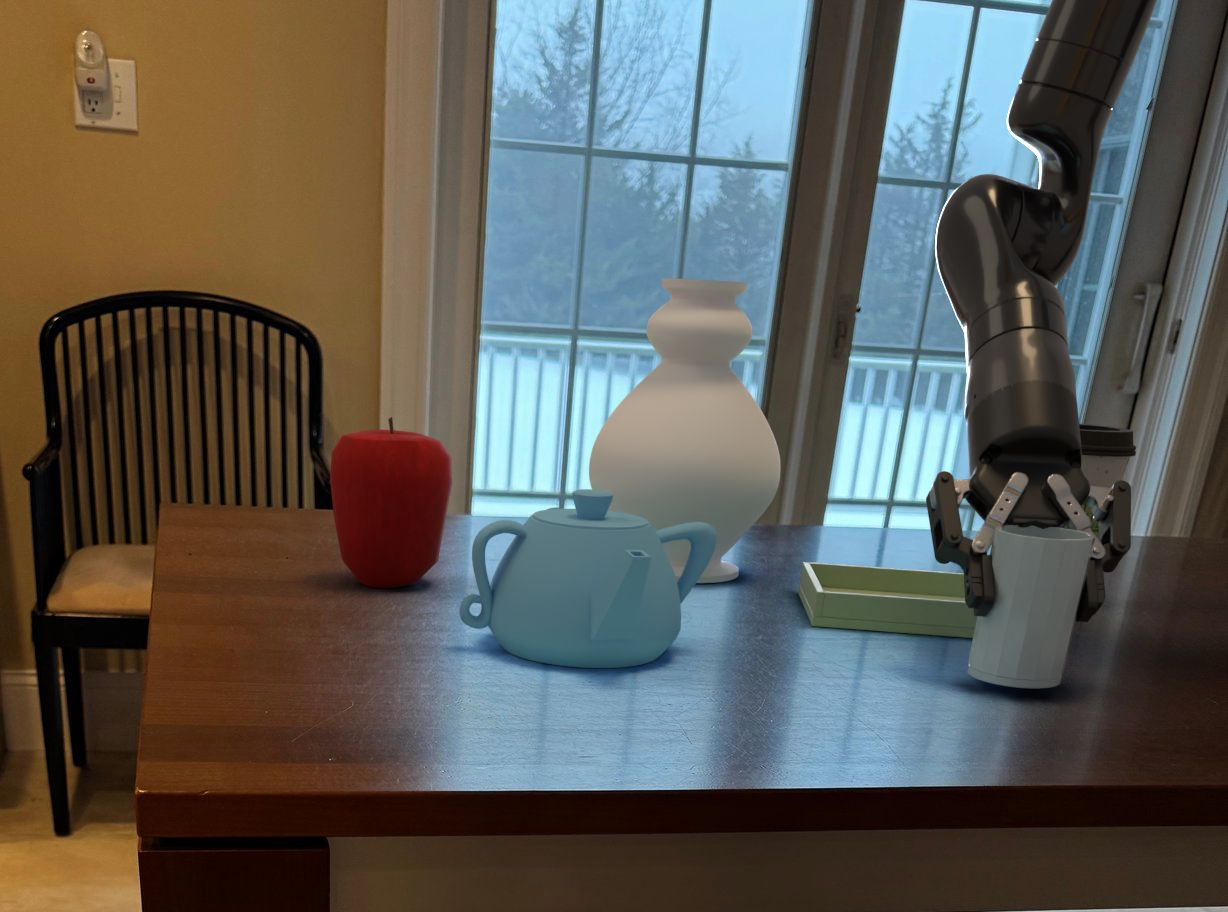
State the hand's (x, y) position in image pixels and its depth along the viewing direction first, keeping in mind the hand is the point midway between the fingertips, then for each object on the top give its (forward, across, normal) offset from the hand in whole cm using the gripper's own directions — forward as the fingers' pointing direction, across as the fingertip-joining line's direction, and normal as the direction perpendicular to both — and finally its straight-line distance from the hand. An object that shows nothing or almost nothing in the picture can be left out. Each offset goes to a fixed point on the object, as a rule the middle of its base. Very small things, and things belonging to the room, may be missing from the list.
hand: (1036, 612), depth 96 cm
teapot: (0, -31, +8) cm, 32 cm away
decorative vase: (-25, -21, +33) cm, 46 cm away
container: (+2, 0, +5) cm, 5 cm away
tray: (-14, -2, +22) cm, 26 cm away
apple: (-15, -47, +23) cm, 54 cm away
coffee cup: (-22, +14, +31) cm, 40 cm away
